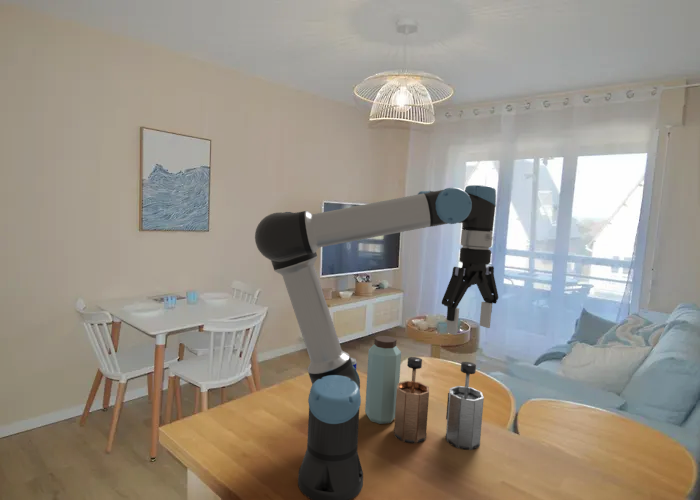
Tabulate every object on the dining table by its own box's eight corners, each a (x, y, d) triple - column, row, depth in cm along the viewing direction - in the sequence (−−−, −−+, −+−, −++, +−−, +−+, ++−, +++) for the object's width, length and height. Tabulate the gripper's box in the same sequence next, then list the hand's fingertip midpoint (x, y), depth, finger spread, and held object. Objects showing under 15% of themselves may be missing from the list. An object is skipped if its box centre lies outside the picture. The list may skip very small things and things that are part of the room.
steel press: (464, 453, 111) (468, 403, 110) (436, 435, 119) (439, 388, 118) (486, 443, 116) (490, 395, 115) (458, 427, 125) (461, 382, 123)
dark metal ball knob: (467, 408, 112) (470, 370, 111) (448, 398, 117) (451, 362, 116) (482, 402, 115) (485, 366, 115) (464, 393, 121) (466, 358, 120)
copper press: (409, 446, 113) (412, 397, 111) (384, 429, 121) (387, 383, 120) (433, 437, 118) (436, 390, 117) (408, 421, 126) (411, 377, 125)
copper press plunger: (412, 402, 113) (414, 365, 112) (396, 393, 119) (398, 357, 118) (429, 397, 117) (431, 361, 116) (412, 388, 123) (415, 354, 122)
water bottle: (396, 411, 133) (401, 335, 130) (397, 427, 123) (402, 345, 121) (365, 408, 134) (370, 333, 131) (363, 423, 124) (368, 342, 122)
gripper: (456, 249, 93) (448, 340, 95) (516, 248, 109) (509, 327, 110) (431, 246, 99) (424, 332, 101) (491, 246, 114) (485, 320, 116)
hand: (468, 330), depth 106 cm, fingers open, 13 cm apart
